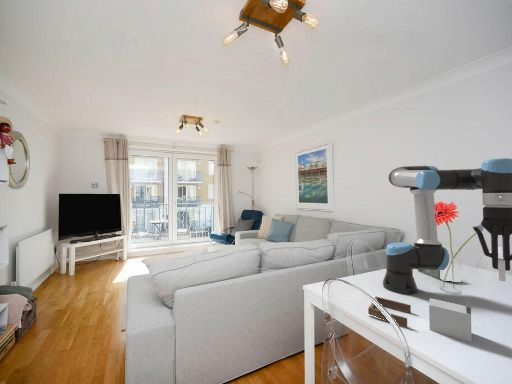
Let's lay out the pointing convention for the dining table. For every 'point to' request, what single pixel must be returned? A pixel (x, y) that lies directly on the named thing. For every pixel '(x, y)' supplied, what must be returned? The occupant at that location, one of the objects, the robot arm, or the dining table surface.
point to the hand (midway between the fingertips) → (501, 279)
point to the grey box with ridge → (450, 319)
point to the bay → (391, 304)
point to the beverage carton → (431, 273)
